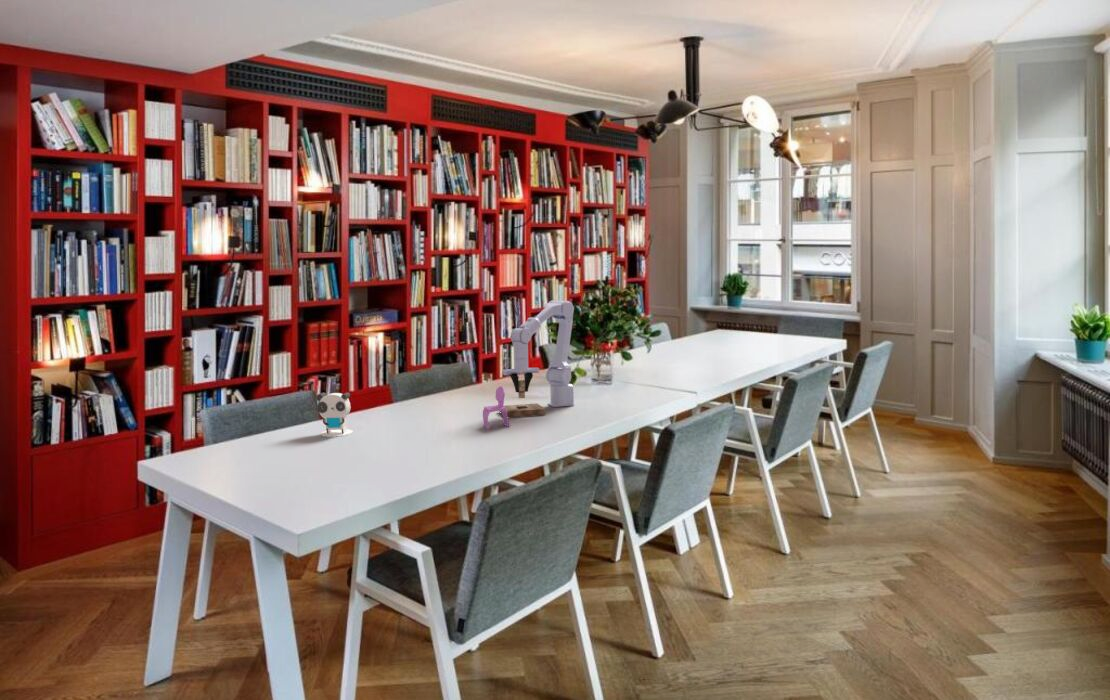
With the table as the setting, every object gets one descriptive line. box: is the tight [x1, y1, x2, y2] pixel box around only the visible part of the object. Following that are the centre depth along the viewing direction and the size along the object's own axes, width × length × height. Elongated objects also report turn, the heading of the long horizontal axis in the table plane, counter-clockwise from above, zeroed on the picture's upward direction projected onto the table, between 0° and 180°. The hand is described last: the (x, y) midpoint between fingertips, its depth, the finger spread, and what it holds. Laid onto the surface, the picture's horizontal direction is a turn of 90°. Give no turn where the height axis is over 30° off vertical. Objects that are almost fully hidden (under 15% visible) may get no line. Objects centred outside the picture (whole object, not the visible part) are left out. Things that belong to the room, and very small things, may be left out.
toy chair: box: [482, 386, 511, 430], centre depth 305 cm, size 8×9×15 cm
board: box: [498, 403, 546, 418], centre depth 328 cm, size 16×12×2 cm
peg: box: [517, 379, 527, 399], centre depth 328 cm, size 3×3×7 cm
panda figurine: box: [316, 392, 353, 438], centre depth 298 cm, size 12×11×15 cm
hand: (521, 391), depth 327 cm, fingers closed on peg, 3 cm apart
